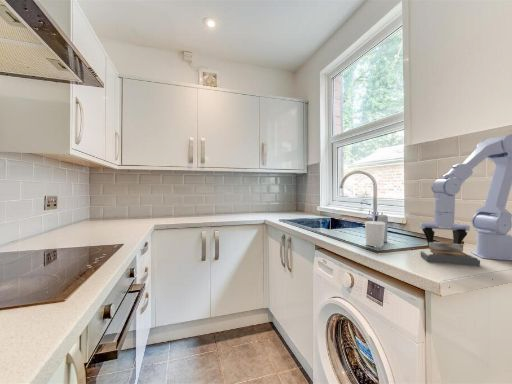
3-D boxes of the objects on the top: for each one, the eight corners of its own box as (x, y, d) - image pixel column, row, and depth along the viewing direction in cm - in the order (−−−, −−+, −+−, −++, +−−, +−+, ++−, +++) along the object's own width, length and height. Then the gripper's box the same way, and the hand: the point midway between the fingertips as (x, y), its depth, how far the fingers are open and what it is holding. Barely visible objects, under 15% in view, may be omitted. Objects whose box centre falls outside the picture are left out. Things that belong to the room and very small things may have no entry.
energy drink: (371, 240, 115) (372, 214, 115) (380, 239, 117) (380, 214, 117) (380, 242, 110) (381, 216, 110) (389, 241, 112) (390, 215, 112)
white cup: (360, 244, 107) (361, 221, 106) (372, 242, 111) (372, 220, 110) (377, 248, 100) (377, 224, 100) (388, 246, 104) (389, 223, 103)
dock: (463, 256, 90) (463, 249, 89) (479, 266, 79) (480, 258, 79) (416, 253, 94) (416, 246, 94) (426, 261, 84) (427, 254, 84)
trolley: (461, 256, 86) (462, 244, 85) (469, 261, 81) (470, 247, 81) (428, 254, 89) (429, 242, 88) (434, 258, 84) (434, 245, 84)
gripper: (463, 211, 90) (461, 248, 90) (417, 210, 94) (416, 244, 95) (473, 213, 83) (471, 253, 84) (424, 212, 87) (422, 249, 88)
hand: (443, 249), depth 89 cm, fingers open, 7 cm apart
